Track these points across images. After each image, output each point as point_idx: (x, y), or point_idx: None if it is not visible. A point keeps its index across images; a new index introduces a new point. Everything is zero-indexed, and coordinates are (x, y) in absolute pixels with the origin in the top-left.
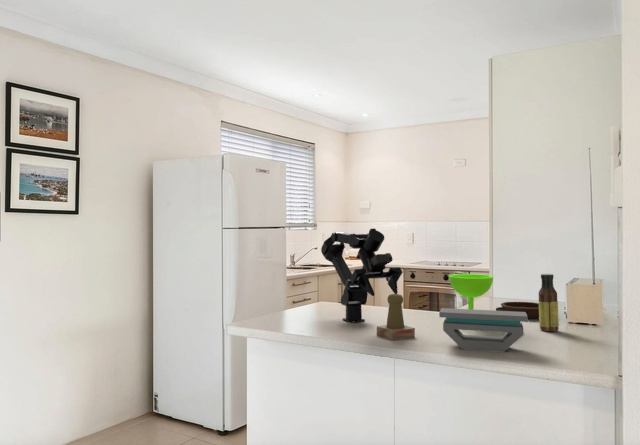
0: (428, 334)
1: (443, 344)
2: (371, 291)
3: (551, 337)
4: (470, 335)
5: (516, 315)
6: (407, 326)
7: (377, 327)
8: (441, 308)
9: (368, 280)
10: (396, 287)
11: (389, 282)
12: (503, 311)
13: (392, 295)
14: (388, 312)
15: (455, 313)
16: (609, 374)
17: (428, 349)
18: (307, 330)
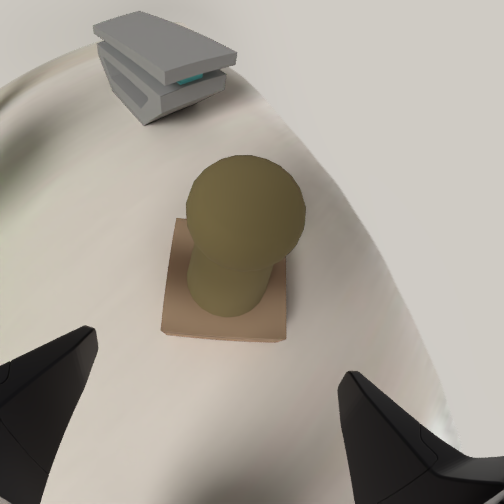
0: (108, 238)
1: (188, 139)
2: (376, 393)
3: (11, 109)
4: (137, 99)
5: (142, 14)
6: (174, 256)
7: (284, 333)
8: (172, 68)
9: (441, 471)
10: (48, 349)
11: (24, 490)
12: (109, 29)
13: (291, 185)
14: (271, 268)
15: (209, 39)
16: None
17: (259, 134)
18: None
